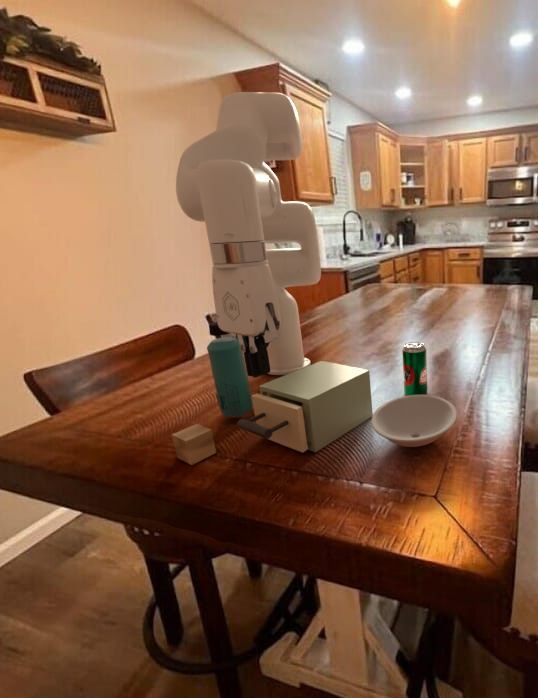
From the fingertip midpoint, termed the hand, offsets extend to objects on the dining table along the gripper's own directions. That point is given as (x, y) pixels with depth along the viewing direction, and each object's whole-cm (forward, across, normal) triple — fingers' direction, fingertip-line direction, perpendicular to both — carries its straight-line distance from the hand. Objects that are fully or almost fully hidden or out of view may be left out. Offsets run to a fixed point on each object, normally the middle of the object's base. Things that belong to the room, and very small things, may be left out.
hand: (259, 373), depth 64 cm
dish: (+15, +19, +16) cm, 29 cm away
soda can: (+15, +9, +32) cm, 36 cm away
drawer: (+13, 0, +7) cm, 15 cm away
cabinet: (+14, 0, +12) cm, 19 cm away
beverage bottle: (+15, -18, +6) cm, 24 cm away
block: (+14, -11, -7) cm, 20 cm away
